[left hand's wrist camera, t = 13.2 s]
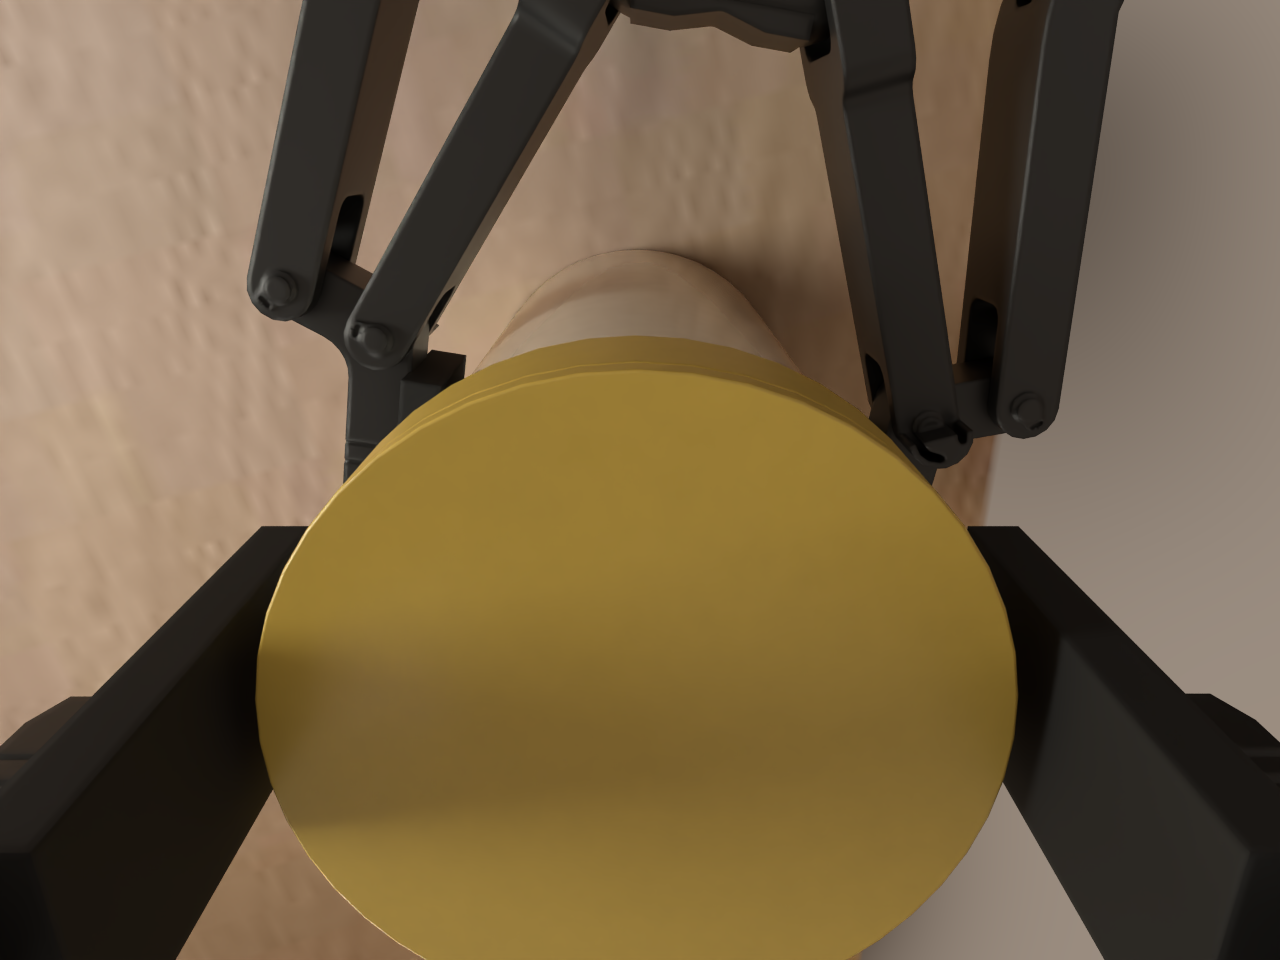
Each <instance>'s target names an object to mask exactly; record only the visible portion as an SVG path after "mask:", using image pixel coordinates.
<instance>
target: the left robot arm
mask: <svg viewBox="0 0 1280 960" xmlns="http://www.w3.org/2000/svg"><path fill="white" fill-rule="evenodd" d="M308 527H309V526H262V527H261V528H260V529H259V530H258V531H257V532H256V533H255V534H254V535H253V536H252V537H251V538H250V539H249V540H248V541H247V542H246V543H245V544H244V545H243V546H242V547H241V548H240V549H239V550H238V551H237V552H236V553H235V554H234V555H233V556H232V557H231V558H230V559H229V560H228V561H227V562H226V563H225V564H224V565H223V566H222V567H221V568H220V569H219V570H218V571H217V572H216V573H215V574H214V575H213V576H212V577H211V578H210V579H209V580H208V581H207V582H206V583H205V584H204V585H203V586H202V587H201V588H200V589H199V590H198V591H197V592H196V593H195V594H194V595H193V596H192V597H191V598H190V599H189V600H188V601H187V602H186V603H185V604H184V605H183V606H182V607H181V608H180V609H179V610H178V611H177V612H176V613H175V614H174V615H173V616H172V617H171V618H170V619H169V620H168V621H167V622H166V623H165V624H164V625H163V626H162V627H161V628H160V629H159V630H158V631H157V632H156V633H155V634H154V635H153V636H152V637H151V638H150V639H149V640H148V641H147V642H146V643H145V644H144V645H143V646H142V647H141V648H140V649H139V650H138V651H137V652H136V653H135V654H134V655H133V656H132V657H131V658H130V659H129V660H128V661H127V662H126V663H125V664H124V665H123V666H122V667H121V668H120V669H119V670H118V671H117V672H116V673H115V674H114V675H113V676H112V677H111V678H110V679H109V680H108V681H107V682H106V683H105V684H104V685H103V686H102V687H101V688H100V689H99V690H98V691H97V692H96V693H95V694H94V695H93V696H92V697H69V698H68V699H66V700H64V701H62V702H61V703H59V704H57V705H55V706H54V707H52V708H50V709H49V710H47V711H45V712H43V713H42V714H40V715H38V716H36V717H35V718H33V719H31V720H30V721H28V722H26V723H25V724H24V725H23V726H22V727H20V728H19V729H18V730H17V731H16V732H15V733H14V734H13V735H12V736H11V737H10V738H9V739H8V740H7V741H6V742H4V743H3V744H2V745H1V746H0V960H176V958H177V956H178V954H179V953H180V951H181V949H182V947H183V946H184V944H185V942H186V940H187V939H188V937H189V935H190V933H191V932H192V930H193V928H194V926H195V925H196V923H197V921H198V919H199V918H200V916H201V914H202V912H203V911H204V909H205V907H206V905H207V904H208V902H209V900H210V899H211V897H212V895H213V893H214V892H215V890H216V888H217V886H218V885H219V883H220V881H221V879H222V878H223V876H224V874H225V872H226V871H227V869H228V867H229V865H230V864H231V862H232V860H233V858H234V857H235V855H236V853H237V851H238V850H239V848H240V846H241V844H242V843H243V841H244V839H245V837H246V836H247V834H248V832H249V830H250V829H251V827H252V825H253V823H254V822H255V820H256V818H257V816H258V815H259V813H260V811H261V809H262V808H263V806H264V804H265V802H266V801H267V799H268V797H269V795H270V794H271V792H272V790H273V787H272V785H271V783H270V779H269V775H268V772H267V768H266V764H265V760H264V757H263V753H262V749H261V745H260V740H259V731H258V722H257V712H256V703H255V692H256V672H257V655H258V650H259V645H260V641H261V636H262V631H263V627H264V622H265V617H266V613H267V610H268V607H269V605H270V602H271V600H272V597H273V594H274V592H275V589H276V587H277V584H278V581H279V579H280V576H281V574H282V571H283V569H284V567H285V566H286V564H287V562H288V560H289V559H290V557H291V555H292V553H293V552H294V550H295V548H296V547H297V545H298V543H299V541H300V540H301V538H302V536H303V534H304V533H305V531H306V529H307V528H308ZM967 530H968V532H969V534H970V536H971V537H972V539H973V541H974V542H975V544H976V546H977V547H978V549H979V551H980V552H981V554H982V556H983V557H984V559H985V561H986V563H987V564H988V566H989V568H990V570H991V573H992V575H993V578H994V580H995V583H996V586H997V588H998V591H999V593H1000V596H1001V598H1002V601H1003V603H1004V606H1005V608H1006V612H1007V616H1008V621H1009V625H1010V630H1011V634H1012V639H1013V643H1014V647H1015V652H1016V668H1017V684H1018V703H1017V714H1016V724H1015V735H1014V741H1013V745H1012V749H1011V753H1010V757H1009V761H1008V765H1007V769H1006V773H1005V777H1004V780H1003V783H1004V785H1005V786H1006V788H1007V790H1008V792H1009V794H1010V795H1011V797H1012V799H1013V800H1014V802H1015V804H1016V806H1017V808H1018V809H1019V811H1020V813H1021V815H1022V816H1023V818H1024V820H1025V821H1026V823H1027V825H1028V827H1029V828H1030V830H1031V832H1032V834H1033V835H1034V837H1035V839H1036V841H1037V842H1038V844H1039V846H1040V848H1041V849H1042V851H1043V853H1044V855H1045V856H1046V858H1047V860H1048V862H1049V863H1050V865H1051V867H1052V869H1053V870H1054V872H1055V874H1056V876H1057V877H1058V879H1059V881H1060V883H1061V884H1062V886H1063V888H1064V890H1065V891H1066V893H1067V895H1068V897H1069V898H1070V900H1071V902H1072V904H1073V905H1074V907H1075V909H1076V911H1077V912H1078V914H1079V916H1080V918H1081V919H1082V921H1083V923H1084V925H1085V926H1086V928H1087V930H1088V932H1089V933H1090V935H1091V937H1092V939H1093V940H1094V942H1095V944H1096V946H1097V947H1098V949H1099V951H1100V953H1101V954H1102V956H1103V958H1104V960H1280V742H1279V741H1278V740H1277V739H1276V738H1274V737H1273V736H1272V735H1271V734H1270V733H1269V732H1268V731H1267V730H1266V729H1265V728H1264V727H1263V726H1262V725H1261V724H1259V723H1258V722H1257V721H1256V720H1255V719H1253V718H1251V717H1250V716H1248V715H1246V714H1244V713H1243V712H1241V711H1239V710H1237V709H1236V708H1234V707H1232V706H1231V705H1229V704H1227V703H1225V702H1224V701H1222V700H1220V699H1218V698H1217V697H1215V696H1213V695H1211V694H1185V693H1184V692H1183V691H1182V690H1181V689H1180V688H1179V687H1178V686H1177V685H1176V684H1175V683H1174V682H1173V681H1172V680H1171V679H1170V678H1169V677H1168V676H1167V675H1166V674H1165V673H1164V672H1163V671H1162V670H1161V669H1160V668H1159V667H1158V666H1157V665H1156V664H1155V663H1154V662H1153V661H1152V660H1151V659H1150V658H1149V657H1148V656H1147V655H1146V654H1145V653H1144V652H1143V651H1142V650H1141V649H1140V648H1139V647H1138V646H1137V645H1136V644H1135V643H1134V642H1133V641H1132V640H1131V639H1130V638H1129V637H1128V636H1127V635H1126V634H1125V633H1124V632H1123V631H1122V630H1121V629H1120V628H1119V627H1118V626H1117V625H1116V624H1115V623H1114V622H1113V621H1112V620H1111V619H1110V618H1109V617H1108V616H1107V615H1106V614H1105V613H1104V612H1103V611H1102V610H1101V609H1100V608H1099V607H1098V606H1097V605H1096V604H1095V603H1094V602H1093V601H1092V600H1091V599H1090V598H1089V597H1088V596H1087V595H1086V594H1085V593H1084V592H1083V591H1082V590H1081V589H1080V588H1079V587H1078V586H1077V585H1076V584H1075V583H1074V582H1073V581H1072V580H1071V579H1070V578H1069V577H1068V576H1067V575H1066V574H1065V573H1064V572H1063V571H1062V570H1061V569H1060V568H1059V567H1058V566H1057V565H1056V564H1055V563H1054V562H1053V561H1052V560H1051V559H1050V558H1049V557H1048V556H1047V555H1046V554H1045V553H1044V552H1043V551H1042V550H1041V549H1040V548H1039V547H1038V546H1037V545H1036V544H1035V543H1034V542H1033V541H1032V540H1031V539H1030V538H1029V537H1028V536H1027V535H1026V534H1025V533H1024V532H1023V531H1022V530H1021V529H1020V528H1019V527H1018V526H968V529H967Z"/></svg>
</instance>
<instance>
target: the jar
mask: <svg viewBox="0 0 1280 960" xmlns="http://www.w3.org/2000/svg"><path fill="white" fill-rule="evenodd" d="M633 335H638V336H655V337H671V338H685V339H691V340H696V341H701V342H706V343H711V344H716V345H722V346H727V347H732V348H735V349H738V350H741V351H744V352H747V353H750V354H753V355H756V356H759V357H762V358H765V359H768V360H771V361H774V362H777V363H779V364H781V365H783V366H785V367H787V368H789V369H791V370H793V371H795V372H797V373H800V374H802V373H801V372H800V370H799V369H798V368H797V366H796V365H795V364H794V362H793V361H792V359H791V358H790V357H789V355H788V354H787V353H786V351H785V350H784V348H783V347H782V346H781V344H780V343H779V342H778V340H777V339H776V338H775V336H774V335H773V333H772V332H771V331H770V329H769V328H768V327H767V325H766V324H765V322H764V321H763V320H762V318H761V317H760V316H759V314H758V313H757V312H756V310H755V309H754V308H753V306H752V305H751V304H750V303H749V302H748V300H747V299H746V298H745V297H744V296H743V294H742V293H741V292H739V291H738V290H737V289H736V288H735V287H734V286H733V285H732V284H731V283H730V282H729V281H727V280H726V279H724V278H723V277H722V276H720V275H719V274H717V273H716V272H714V271H713V270H711V269H709V268H707V267H705V266H703V265H701V264H699V263H697V262H695V261H693V260H690V259H687V258H684V257H681V256H678V255H675V254H670V253H665V252H660V251H654V250H638V249H635V250H621V251H614V252H609V253H604V254H599V255H596V256H593V257H590V258H587V259H584V260H582V261H579V262H577V263H575V264H573V265H571V266H569V267H567V268H565V269H563V270H561V271H560V272H558V273H557V274H556V275H554V276H553V277H551V278H550V279H549V280H547V281H546V282H545V283H543V284H542V285H541V286H540V287H539V288H538V289H537V290H536V291H535V292H534V293H533V294H532V295H531V296H530V297H529V298H528V299H527V301H526V302H525V303H524V304H523V306H522V307H521V308H520V309H519V311H518V312H517V313H516V315H515V316H514V317H513V319H512V320H511V321H510V323H509V324H508V326H507V327H506V328H505V330H504V331H503V332H502V334H501V335H500V336H499V338H498V339H497V341H496V342H495V343H494V345H493V346H492V347H491V349H490V350H489V352H488V353H487V354H486V356H485V357H484V358H483V360H482V361H481V362H480V364H479V365H478V367H477V368H476V369H475V371H474V372H473V373H472V374H474V373H476V372H478V371H480V370H482V369H484V368H486V367H488V366H490V365H492V364H495V363H498V362H501V361H503V360H506V359H509V358H512V357H515V356H518V355H521V354H524V353H527V352H530V351H532V350H535V349H538V348H543V347H548V346H553V345H558V344H563V343H568V342H573V341H578V340H582V339H590V338H604V337H618V336H633ZM802 375H803V374H802Z"/></svg>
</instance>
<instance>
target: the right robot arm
mask: <svg viewBox="0 0 1280 960" xmlns="http://www.w3.org/2000/svg"><path fill="white" fill-rule="evenodd" d="M1123 1H1124V0H1003V1H1002V4H1001V7H1000V11H999V15H998V18H997V22H996V26H995V30H994V34H993V40H992V46H991V53H990V59H989V68H988V77H987V86H986V96H985V105H984V114H983V124H982V133H981V142H980V151H979V161H978V170H977V179H976V189H975V198H974V207H973V217H972V226H971V235H970V244H969V254H968V263H967V272H966V282H965V291H964V300H963V310H962V319H961V328H960V338H959V347H958V356H957V364H952V361H951V354H950V347H949V341H948V334H947V327H946V320H945V313H944V306H943V299H942V292H941V285H940V278H939V271H938V264H937V258H936V251H935V244H934V237H933V230H932V223H931V216H930V209H929V202H928V195H927V188H926V181H925V175H924V168H923V161H922V154H921V147H920V140H919V133H918V126H917V119H916V112H915V105H914V98H913V89H912V86H913V78H914V74H915V69H916V51H915V42H914V35H913V28H912V21H911V13H910V6H909V0H519V3H518V6H517V9H516V12H515V14H514V16H513V18H512V20H511V22H510V24H509V26H508V28H507V30H506V32H505V33H504V35H503V37H502V39H501V41H500V42H499V44H498V46H497V48H496V50H495V52H494V53H493V55H492V57H491V59H490V61H489V63H488V64H487V66H486V68H485V70H484V72H483V74H482V75H481V77H480V79H479V81H478V83H477V85H476V86H475V88H474V90H473V92H472V94H471V96H470V97H469V99H468V101H467V103H466V105H465V107H464V108H463V110H462V112H461V114H460V116H459V118H458V119H457V121H456V123H455V125H454V127H453V128H452V130H451V132H450V134H449V136H448V138H447V139H446V141H445V143H444V145H443V147H442V149H441V150H440V152H439V154H438V156H437V158H436V160H435V161H434V163H433V165H432V167H431V169H430V171H429V172H428V174H427V176H426V178H425V180H424V182H423V183H422V185H421V187H420V189H419V191H418V193H417V194H416V196H415V198H414V200H413V202H412V204H411V205H410V207H409V209H408V211H407V213H406V214H405V216H404V218H403V220H402V222H401V224H400V225H399V227H398V229H397V231H396V233H395V235H394V236H393V238H392V240H391V242H390V244H389V246H388V247H387V249H386V251H385V253H384V255H383V257H382V258H381V260H380V262H379V264H378V266H377V268H376V269H375V271H374V273H373V274H372V273H370V272H369V271H367V270H365V269H363V268H361V267H359V266H357V265H356V264H355V263H356V259H357V255H358V251H359V247H360V243H361V238H362V234H363V230H364V226H365V222H366V218H367V214H368V209H369V205H370V201H371V197H372V193H373V189H374V185H375V181H376V176H377V172H378V168H379V164H380V160H381V156H382V152H383V147H384V143H385V139H386V135H387V131H388V127H389V123H390V119H391V114H392V110H393V106H394V102H395V98H396V94H397V90H398V85H399V81H400V77H401V73H402V69H403V65H404V61H405V56H406V52H407V48H408V44H409V40H410V36H411V32H412V28H413V23H414V19H415V15H416V11H417V7H418V3H419V0H303V1H302V6H301V11H300V16H299V21H298V26H297V31H296V36H295V41H294V46H293V51H292V56H291V61H290V66H289V71H288V76H287V81H286V86H285V91H284V96H283V101H282V106H281V111H280V116H279V121H278V126H277V131H276V136H275V141H274V146H273V151H272V156H271V161H270V166H269V171H268V176H267V181H266V185H265V190H264V195H263V200H262V205H261V210H260V215H259V220H258V225H257V230H256V235H255V240H254V245H253V250H252V255H251V260H250V265H249V270H248V275H247V291H248V294H249V296H250V299H251V301H252V303H253V304H254V306H255V307H256V308H257V309H258V310H259V311H260V312H261V313H262V314H264V315H266V316H267V317H269V318H271V319H273V320H280V321H289V320H293V321H295V322H297V323H299V324H301V325H303V326H305V327H306V328H308V329H310V330H312V331H314V332H316V333H318V334H320V335H322V336H324V337H325V338H327V339H328V340H330V341H331V342H332V343H333V344H334V345H335V346H336V347H337V348H338V349H339V350H340V352H341V353H342V355H343V357H344V358H345V361H346V364H347V367H348V376H349V381H348V401H347V420H346V444H345V463H344V480H343V484H344V483H345V482H346V481H347V479H348V478H349V477H350V476H351V475H352V474H353V473H354V471H355V470H356V469H357V468H358V467H359V466H360V465H361V463H362V462H363V461H364V460H365V459H366V458H367V457H368V455H369V454H370V453H371V452H372V451H373V450H374V449H375V447H376V446H377V445H378V444H379V443H380V442H381V441H382V440H383V439H384V438H385V437H386V436H387V435H388V434H389V433H390V432H391V431H393V430H394V429H395V428H396V427H397V426H398V425H399V424H400V423H401V422H402V421H403V420H404V419H406V418H407V417H408V416H409V415H410V414H411V413H412V412H413V411H414V410H416V409H417V408H419V407H420V406H422V405H423V404H425V403H426V402H428V401H429V400H430V399H432V398H433V397H435V396H436V395H438V394H439V393H441V392H442V391H443V390H445V389H446V388H448V387H449V386H451V385H453V384H454V383H456V382H458V381H460V380H462V379H464V374H465V363H466V355H461V354H455V353H449V352H442V351H436V350H431V351H430V352H429V353H428V354H427V351H428V339H429V335H430V334H431V333H433V331H434V330H435V329H436V328H437V327H438V326H439V325H438V324H437V322H438V320H439V319H440V317H441V315H442V313H443V312H444V310H445V308H446V306H447V305H448V303H449V301H450V300H451V298H452V296H453V294H454V293H455V291H456V289H457V288H458V286H459V284H460V282H461V281H462V279H463V277H464V276H465V274H466V272H467V270H468V269H469V267H470V265H471V264H472V262H473V260H474V258H475V257H476V255H477V253H478V252H479V250H480V248H481V246H482V245H483V243H484V241H485V240H486V238H487V236H488V234H489V233H490V231H491V229H492V227H493V226H494V224H495V222H496V221H497V219H498V217H499V215H500V214H501V212H502V210H503V209H504V207H505V205H506V203H507V202H508V200H509V198H510V197H511V195H512V193H513V191H514V190H515V188H516V186H517V185H518V183H519V181H520V179H521V178H522V176H523V174H524V173H525V171H526V169H527V167H528V166H529V164H530V162H531V161H532V159H533V157H534V155H535V154H536V152H537V150H538V148H539V147H540V145H541V143H542V142H543V140H544V138H545V136H546V135H547V133H548V131H549V130H550V128H551V126H552V124H553V123H554V121H555V119H556V118H557V116H558V114H559V112H560V111H561V109H562V107H563V106H564V104H565V102H566V100H567V99H568V97H569V95H570V94H571V92H572V90H573V88H574V87H575V85H576V83H577V82H578V80H579V78H580V76H581V75H582V73H583V71H584V70H585V68H586V67H587V66H588V64H589V63H590V62H591V60H592V59H593V58H594V56H595V55H596V53H597V51H598V50H599V48H600V46H601V45H602V43H603V41H604V40H605V38H606V36H607V35H608V33H609V31H610V29H611V28H612V26H613V24H614V23H615V21H616V19H617V17H618V16H619V14H620V12H621V13H622V14H624V15H626V16H628V17H630V22H631V24H637V25H642V26H648V27H653V28H659V29H664V30H669V31H671V30H680V29H689V28H698V27H707V26H713V27H716V28H718V29H720V30H722V31H724V32H726V33H728V34H730V35H732V36H734V37H736V38H738V39H740V40H742V41H744V42H746V43H747V44H749V45H751V46H757V47H762V48H768V49H773V50H779V51H784V52H789V53H790V52H792V51H794V50H795V49H797V48H799V47H800V53H801V58H802V64H803V69H804V74H805V80H806V85H807V89H808V93H809V96H810V99H811V101H812V103H813V106H814V108H815V111H816V115H817V119H818V125H819V130H820V136H821V141H822V147H823V152H824V158H825V163H826V169H827V175H828V180H829V186H830V191H831V197H832V202H833V208H834V213H835V219H836V224H837V230H838V235H839V241H840V246H841V252H842V257H843V263H844V268H845V274H846V280H847V285H848V291H849V296H850V302H851V307H852V313H853V318H854V324H855V329H856V335H857V340H858V346H859V351H860V357H861V362H862V368H863V373H864V379H865V385H866V390H867V396H868V401H869V404H870V406H871V412H870V416H869V420H870V421H871V422H873V423H874V424H875V425H876V426H877V427H878V428H879V429H880V430H881V431H882V432H884V433H885V434H886V435H887V436H888V437H889V438H890V439H891V440H892V441H893V442H894V443H895V444H896V446H897V447H898V448H899V449H900V450H901V451H902V452H903V454H904V455H905V456H906V457H907V458H908V459H909V460H910V462H911V463H912V464H913V465H914V466H915V467H916V469H917V470H918V471H919V472H920V473H921V474H922V475H923V477H924V478H925V479H926V480H927V481H928V482H929V483H930V485H931V486H932V483H933V480H934V477H935V473H936V470H937V469H939V468H947V467H950V466H952V465H954V464H957V463H958V462H959V461H960V460H961V459H963V458H964V457H965V456H966V455H967V454H968V452H969V450H970V448H971V445H972V443H973V439H974V438H980V437H986V436H991V435H997V434H1003V433H1007V434H1009V435H1010V436H1012V437H1016V438H1022V439H1025V438H1030V437H1035V436H1037V435H1039V434H1040V433H1042V432H1044V431H1045V430H1047V429H1048V427H1049V426H1050V425H1051V424H1052V423H1053V421H1054V420H1055V417H1056V415H1057V412H1058V409H1059V403H1060V396H1061V390H1062V383H1063V376H1064V370H1065V363H1066V357H1067V350H1068V343H1069V337H1070V330H1071V323H1072V317H1073V310H1074V304H1075V297H1076V291H1077V284H1078V277H1079V270H1080V264H1081V257H1082V251H1083V244H1084V238H1085V231H1086V224H1087V218H1088V211H1089V205H1090V198H1091V191H1092V185H1093V178H1094V171H1095V165H1096V158H1097V152H1098V145H1099V138H1100V132H1101V125H1102V119H1103V112H1104V105H1105V99H1106V92H1107V85H1108V79H1109V72H1110V66H1111V59H1112V53H1113V46H1114V39H1115V33H1116V26H1117V19H1118V13H1119V10H1120V8H1121V6H1122V4H1123Z"/></svg>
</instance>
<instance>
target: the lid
mask: <svg viewBox="0 0 1280 960" xmlns="http://www.w3.org/2000/svg"><path fill="white" fill-rule="evenodd" d="M255 703H256V712H257V722H258V731H259V740H260V745H261V749H262V753H263V757H264V760H265V764H266V768H267V772H268V775H269V779H270V783H271V785H272V787H273V790H274V792H275V794H276V797H277V799H278V801H279V804H280V806H281V808H282V811H283V813H284V815H285V818H286V820H287V822H288V823H289V825H290V827H291V828H292V830H293V832H294V833H295V835H296V837H297V838H298V840H299V842H300V843H301V845H302V847H303V848H304V850H305V852H306V853H307V855H308V856H309V858H310V859H311V860H312V861H313V863H314V864H315V865H316V866H317V868H318V869H319V870H320V871H321V873H322V874H323V875H324V876H325V878H326V879H327V880H328V881H329V883H330V884H331V885H332V886H333V888H334V889H335V890H336V891H337V892H338V893H339V894H340V895H342V896H343V897H344V898H345V899H346V900H347V901H348V902H349V903H350V904H351V905H352V906H353V907H354V908H355V909H356V910H357V911H358V912H359V913H360V914H361V915H362V916H363V917H364V918H366V919H367V920H368V921H369V922H371V923H372V924H373V925H375V926H376V927H377V928H379V929H380V930H381V931H383V932H384V933H385V934H386V935H388V936H389V937H390V938H392V939H393V940H394V941H396V942H397V943H399V944H400V945H402V946H403V947H405V948H407V949H408V950H410V951H412V952H413V953H415V954H417V955H418V956H420V957H422V958H423V959H425V960H848V959H850V958H851V957H853V956H854V955H856V954H858V953H859V952H861V951H863V950H864V949H866V948H867V947H869V946H871V945H872V944H874V943H876V942H877V941H879V940H880V939H881V938H883V937H884V936H885V935H887V934H888V933H889V932H890V931H892V930H893V929H894V928H896V927H897V926H898V925H899V924H901V923H902V922H903V921H904V920H906V919H907V918H908V917H910V916H911V915H912V914H913V913H914V912H915V911H916V910H917V909H918V908H919V907H920V906H921V905H922V904H923V903H924V902H925V901H926V900H927V899H928V898H929V897H930V896H931V895H932V894H933V893H934V892H935V891H936V890H937V889H938V888H939V887H940V886H941V885H942V884H943V883H944V882H945V880H946V879H947V878H948V876H949V875H950V874H951V873H952V871H953V870H954V869H955V867H956V866H957V865H958V864H959V862H960V861H961V860H962V859H963V857H964V856H965V855H966V853H967V852H968V850H969V849H970V847H971V845H972V844H973V842H974V840H975V838H976V837H977V835H978V833H979V832H980V830H981V828H982V827H983V825H984V823H985V821H986V820H987V818H988V816H989V814H990V811H991V809H992V806H993V804H994V802H995V799H996V797H997V794H998V792H999V790H1000V787H1001V785H1002V782H1003V780H1004V777H1005V773H1006V769H1007V765H1008V761H1009V757H1010V753H1011V749H1012V745H1013V741H1014V735H1015V724H1016V714H1017V703H1018V684H1017V668H1016V652H1015V647H1014V643H1013V639H1012V634H1011V630H1010V625H1009V621H1008V616H1007V612H1006V608H1005V606H1004V603H1003V601H1002V598H1001V596H1000V593H999V591H998V588H997V586H996V583H995V580H994V578H993V575H992V573H991V570H990V568H989V566H988V564H987V563H986V561H985V559H984V557H983V556H982V554H981V552H980V551H979V549H978V547H977V546H976V544H975V542H974V541H973V539H972V537H971V536H970V534H969V532H968V530H967V529H966V527H965V526H964V524H963V523H962V522H961V521H960V520H959V518H958V517H957V516H956V515H955V514H954V512H953V511H952V510H951V509H950V507H949V506H948V505H947V504H946V503H945V501H944V500H943V499H942V498H941V496H940V495H939V494H938V493H937V492H936V490H935V489H934V488H933V487H932V486H931V485H930V483H929V482H928V481H927V480H926V479H925V478H924V477H923V475H922V474H921V473H920V472H919V471H918V470H917V469H916V467H915V466H914V465H913V464H912V463H911V462H910V460H909V459H908V458H907V457H906V456H905V455H904V454H903V452H902V451H901V450H900V449H899V448H898V447H897V446H896V444H895V443H894V442H893V441H892V440H891V439H890V438H889V437H888V436H887V435H886V434H885V433H884V432H882V431H881V430H880V429H879V428H878V427H877V426H876V425H875V424H874V423H873V422H871V421H870V420H869V419H868V418H867V417H866V416H865V415H864V414H863V413H862V412H860V411H859V410H858V409H857V408H855V407H854V406H852V405H851V404H849V403H848V402H846V401H845V400H844V399H842V398H841V397H839V396H838V395H836V394H835V393H833V392H832V391H830V390H829V389H827V388H826V387H824V386H823V385H821V384H820V383H818V382H816V381H814V380H812V379H810V378H808V377H806V376H804V375H802V374H800V373H797V372H795V371H793V370H791V369H789V368H787V367H785V366H783V365H781V364H779V363H777V362H774V361H771V360H768V359H765V358H762V357H759V356H756V355H753V354H750V353H747V352H744V351H741V350H738V349H735V348H732V347H727V346H722V345H716V344H711V343H706V342H701V341H696V340H691V339H685V338H671V337H655V336H638V335H633V336H618V337H604V338H590V339H582V340H578V341H573V342H568V343H563V344H558V345H553V346H548V347H543V348H538V349H535V350H532V351H530V352H527V353H524V354H521V355H518V356H515V357H512V358H509V359H506V360H503V361H501V362H498V363H495V364H492V365H490V366H488V367H486V368H484V369H482V370H480V371H478V372H476V373H474V374H472V375H470V376H468V377H466V378H464V379H462V380H460V381H458V382H456V383H454V384H453V385H451V386H449V387H448V388H446V389H445V390H443V391H442V392H441V393H439V394H438V395H436V396H435V397H433V398H432V399H430V400H429V401H428V402H426V403H425V404H423V405H422V406H420V407H419V408H417V409H416V410H414V411H413V412H412V413H411V414H410V415H409V416H408V417H407V418H406V419H404V420H403V421H402V422H401V423H400V424H399V425H398V426H397V427H396V428H395V429H394V430H393V431H391V432H390V433H389V434H388V435H387V436H386V437H385V438H384V439H383V440H382V441H381V442H380V443H379V444H378V445H377V446H376V447H375V449H374V450H373V451H372V452H371V453H370V454H369V455H368V457H367V458H366V459H365V460H364V461H363V462H362V463H361V465H360V466H359V467H358V468H357V469H356V470H355V471H354V473H353V474H352V475H351V476H350V477H349V478H348V479H347V481H346V482H345V483H344V484H343V485H342V486H341V487H340V489H339V490H338V491H337V492H336V493H335V495H334V496H333V497H332V498H331V499H330V501H329V502H328V503H327V504H326V506H325V507H324V508H323V509H322V511H321V512H320V513H319V514H318V516H317V517H316V518H315V519H314V521H313V522H312V523H311V524H310V526H309V527H308V528H307V529H306V531H305V533H304V534H303V536H302V538H301V540H300V541H299V543H298V545H297V547H296V548H295V550H294V552H293V553H292V555H291V557H290V559H289V560H288V562H287V564H286V566H285V567H284V569H283V571H282V574H281V576H280V579H279V581H278V584H277V587H276V589H275V592H274V594H273V597H272V600H271V602H270V605H269V607H268V610H267V613H266V617H265V622H264V627H263V631H262V636H261V641H260V645H259V650H258V655H257V672H256V692H255Z"/></svg>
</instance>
